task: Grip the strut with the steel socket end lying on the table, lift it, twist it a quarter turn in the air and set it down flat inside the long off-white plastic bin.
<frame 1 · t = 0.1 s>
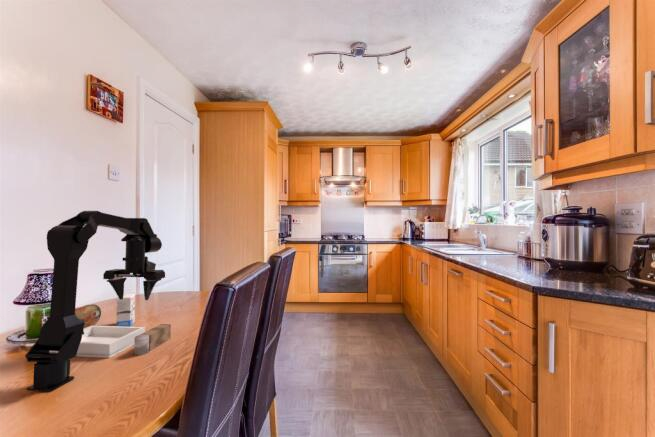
hand: (134, 299, 105), 15 cm above the table, tool pointing down, fingers open, 9 cm apart
ink box: (125, 325, 123), on the table
strut: (152, 345, 101), on the table
bin: (99, 346, 101), on the table
tin: (80, 329, 118), on the table
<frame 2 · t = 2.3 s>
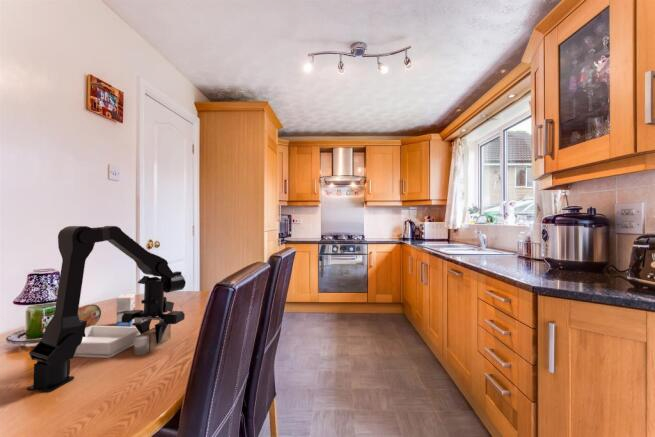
hand: (152, 342, 101), 1 cm above the table, tool pointing down, fingers closed on strut, 4 cm apart
strut: (152, 345, 101), on the table, touching gripper
everything else where it was.
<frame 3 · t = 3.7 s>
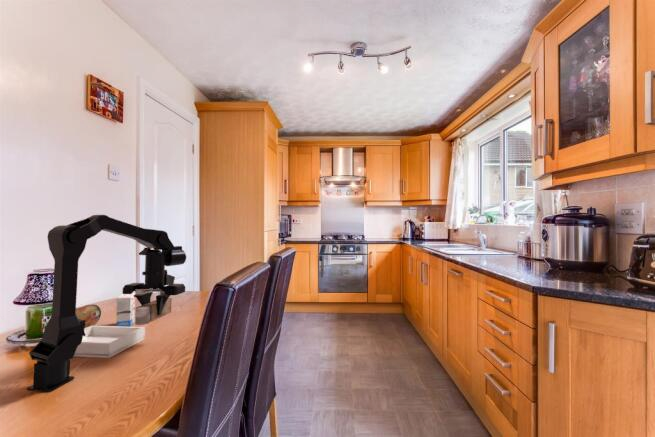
hand: (153, 314, 102), 10 cm above the table, tool pointing down, fingers closed on strut, 4 cm apart
strut: (153, 317, 102), point 9 cm above the table, touching gripper
everything else where it was.
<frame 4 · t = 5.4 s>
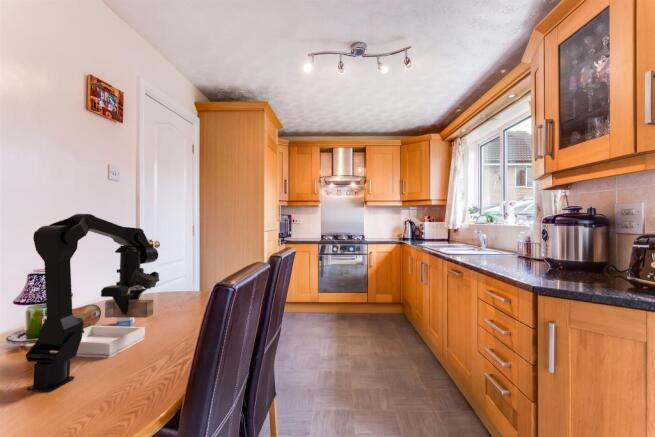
hand: (128, 312, 101), 11 cm above the table, tool pointing down, fingers closed on strut, 4 cm apart
strut: (128, 315, 101), point 10 cm above the table, touching gripper
everything else where it was.
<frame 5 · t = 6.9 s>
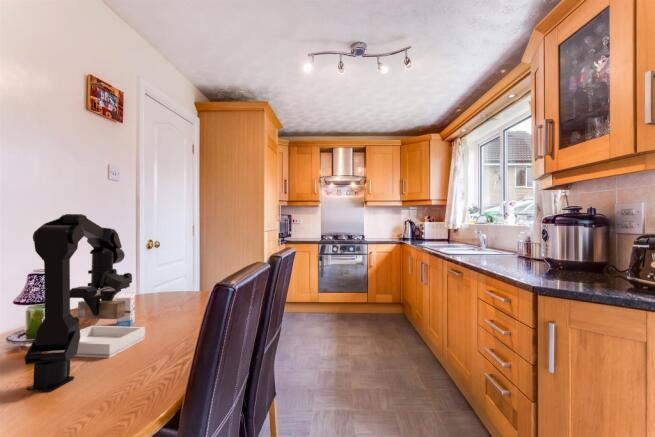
hand: (100, 314, 101), 11 cm above the table, tool pointing down, fingers closed on strut, 4 cm apart
strut: (100, 317, 101), point 10 cm above the table, touching gripper
everything else where it was.
when the fingers open (3 cm above the table, at t = 8.5 s): strut stays where it is, resting on bin.
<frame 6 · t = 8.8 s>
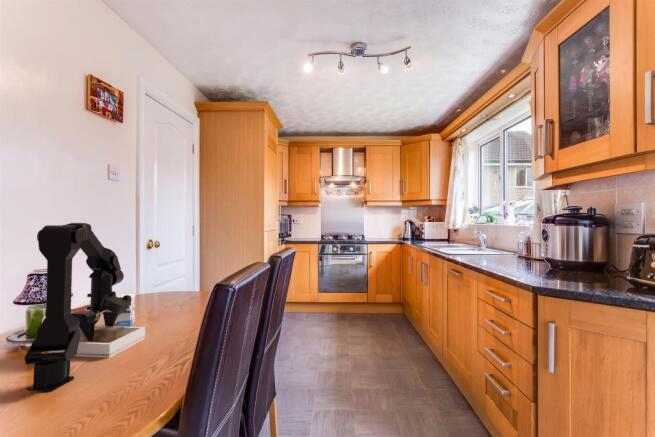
hand: (100, 337, 101), 3 cm above the table, tool pointing down, fingers open, 7 cm apart
strut: (99, 343, 101), point 1 cm above the table, touching bin
everything else where it was.
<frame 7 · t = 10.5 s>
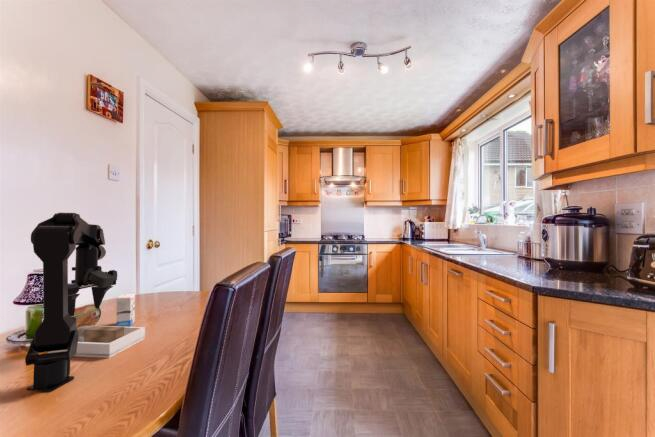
hand: (85, 311, 99), 12 cm above the table, tool pointing down, fingers open, 9 cm apart
nothing on the table moved.
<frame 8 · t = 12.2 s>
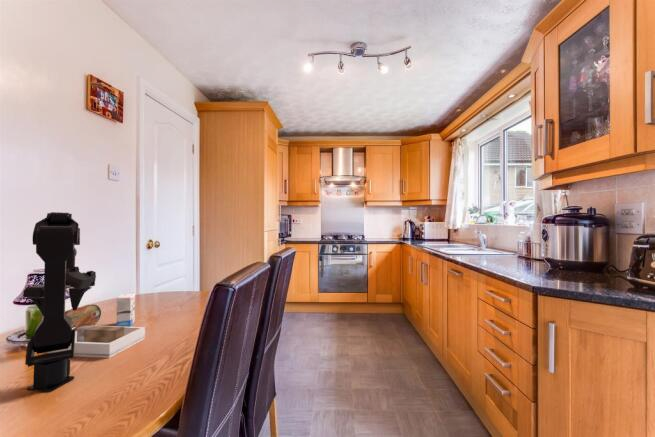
hand: (61, 314, 96), 12 cm above the table, tool pointing down, fingers open, 9 cm apart
nothing on the table moved.
at the end: strut inside the target area on the bin (0.1 cm from its centre), point 1.0 cm above the bin's base; strut tilted 0°; the gripper is holding nothing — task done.
